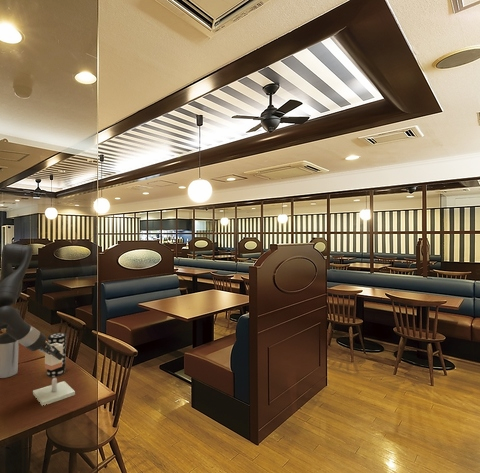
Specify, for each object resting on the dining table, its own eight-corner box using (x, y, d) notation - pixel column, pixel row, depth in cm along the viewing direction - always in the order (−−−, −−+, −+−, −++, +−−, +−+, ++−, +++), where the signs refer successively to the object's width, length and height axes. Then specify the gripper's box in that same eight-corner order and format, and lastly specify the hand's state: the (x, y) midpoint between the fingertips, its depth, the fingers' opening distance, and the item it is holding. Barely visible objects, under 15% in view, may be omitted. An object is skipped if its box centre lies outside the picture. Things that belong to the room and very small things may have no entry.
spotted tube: (44, 377, 152) (45, 338, 152) (49, 370, 160) (51, 333, 160) (62, 376, 155) (63, 337, 155) (67, 369, 163) (68, 332, 163)
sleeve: (44, 368, 136) (45, 345, 136) (55, 364, 141) (56, 342, 141) (51, 370, 134) (52, 348, 134) (62, 366, 138) (62, 344, 139)
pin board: (32, 393, 137) (33, 377, 137) (64, 384, 147) (64, 368, 147) (42, 406, 128) (42, 388, 128) (74, 394, 138) (75, 378, 138)
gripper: (47, 332, 128) (73, 352, 138) (28, 327, 134) (54, 346, 145) (33, 349, 123) (61, 367, 134) (14, 343, 129) (42, 361, 140)
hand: (57, 356), depth 139 cm, fingers closed on sleeve, 5 cm apart
